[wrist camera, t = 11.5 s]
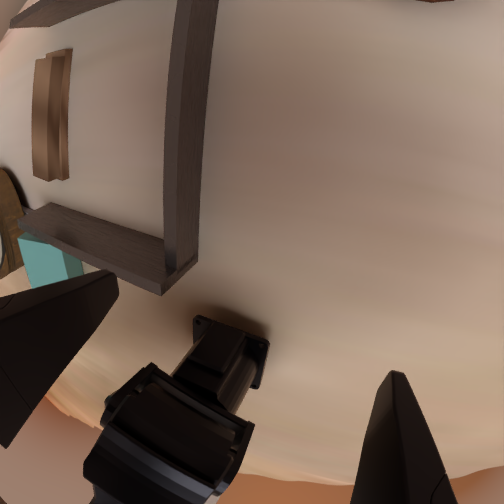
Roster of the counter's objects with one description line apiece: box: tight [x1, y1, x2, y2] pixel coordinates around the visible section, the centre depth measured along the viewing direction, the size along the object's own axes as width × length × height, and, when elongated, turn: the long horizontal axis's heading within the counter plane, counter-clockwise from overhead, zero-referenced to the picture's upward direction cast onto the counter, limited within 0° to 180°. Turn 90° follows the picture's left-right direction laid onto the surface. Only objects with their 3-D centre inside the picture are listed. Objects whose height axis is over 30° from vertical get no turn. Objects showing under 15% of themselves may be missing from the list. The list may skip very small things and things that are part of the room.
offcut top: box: [32, 56, 65, 182], centre depth 22 cm, size 12×3×2 cm, turn 168°
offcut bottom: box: [46, 49, 73, 181], centre depth 23 cm, size 13×4×2 cm, turn 170°
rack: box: [9, 0, 219, 296], centre depth 19 cm, size 22×20×5 cm
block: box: [17, 232, 84, 289], centre depth 30 cm, size 10×3×7 cm
